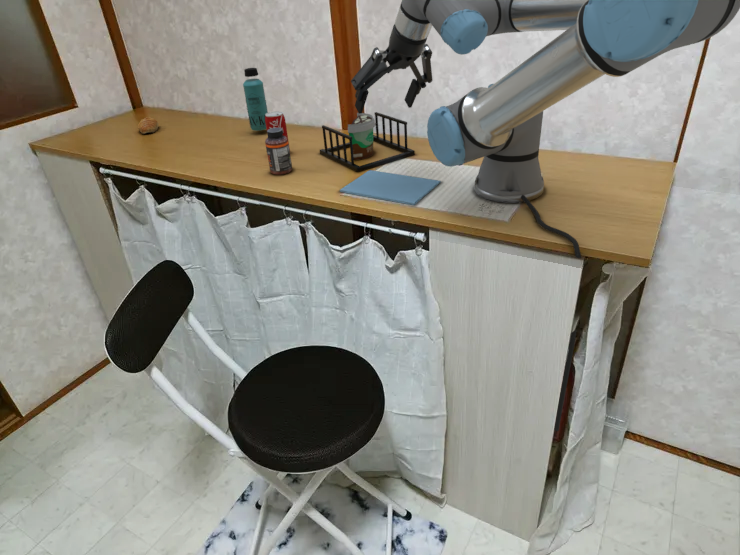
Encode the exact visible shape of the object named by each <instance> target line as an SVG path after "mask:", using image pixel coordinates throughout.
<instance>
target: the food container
mask: <svg viewBox="0 0 740 555" xmlns="http://www.w3.org/2000/svg"><path fill="white" fill-rule="evenodd" d="M356 116H357V117H356V118H354V119H353V120H352V123H351V124H347V133H348V135H349V136H351V137H352V145H353V157H354V161H358V160H365V159H368V158H370V157H372V156H373V155H374V141H373V135H374V128H376V122H375V117H374V116H373V114H370V113H365V112H362V113H361V114H359V113H358V112H356Z"/></svg>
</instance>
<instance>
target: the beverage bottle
mask: <svg viewBox="0 0 740 555" xmlns="http://www.w3.org/2000/svg"><path fill="white" fill-rule="evenodd" d="M258 71H259V70H258V68H257V67H248V68H245V69H244V77H247V78H248V79H246V80H245V81H244V82H243V83H242V87H243V92H244V98H245V104H246V111H247V116H248V122H249V128H250V130H251V131H257V132H258V131H265V130H267V129H266V123H265V114H266V113H269V112H268V105H267V100H266V93H265V88H264V82H263V81H262V79H260V78H252V77H257V76H259V72H258Z"/></svg>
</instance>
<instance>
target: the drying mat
mask: <svg viewBox="0 0 740 555" xmlns="http://www.w3.org/2000/svg"><path fill="white" fill-rule="evenodd" d="M439 184H441V180H437V179H431V178H425V177H419V176H418V177H417V176H412V175H405V174H397V173H392V172H386V171H385V172H384V171H378V170H371V169H368V170H367V171H366V172H364V173H363V174H362V175H359V176H358V177H357V178H355V179H354V180H353V181H351V182H350V183H348V184H346V185H345V186H342V188H340V189H339V192H340V193H345V194H349V195H356V196H362V197H367V198H370V199H371V198H372V199H378V200H382V201H388V202H389V201H390V202H394V203H400V204H405V205H411V206H415V205H416V204H417V203H419V202H420V201H421V200H423V198H424V197H425V196H427V195H428V194H429V193H431V191H432V190H434V189H435V188H437V186H439Z"/></svg>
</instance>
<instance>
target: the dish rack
mask: <svg viewBox="0 0 740 555" xmlns="http://www.w3.org/2000/svg"><path fill="white" fill-rule="evenodd" d="M373 114H374V120H375V124H376V125H375V134H373V142H376V143H378V144H381V145H383V146H386V147H388V148H391V149H393V150H396V151H398V152H401V153H399V154H394V155H392V156H388V157H386V158H382V159H379V160H375V161H372V162H369V163H365V164H362V165H358V164H356V163H355V160H354V157H353V145H352V137H351V136H349V134H346V133H345V132H341V131H339V130H336V129H334V128H332V127H329V126H326V125H324V124H323V125H321V129H322V137H323V144H324V146H323V147H324V148H321V149H319V154H320V155H321V156H324V157H326V158H328V159H330V160H332V161H333V162H336V163H338V164H339V165H342V166H344V167H346V168H348V169H350V170H352V171H354V172H356V173H359V172H362V171H366V170H370V169H373V168H376V167H379V166H382V165H385V164H388V163H392V162H396V161H399V160H402V159H405V158H408V157H412V156H414V155H416V152H415V151H416V150H415V149H412V148H409V147H408V121H405V120H402V119H399V118H396V117H392V116H389V115H387V114H384V113H381V112H378V111H375V112H374V113H373ZM378 117H380V118H381V122H382V124H381V125H382V137H380V135H379V134H380V133H379V118H378ZM385 119H386V120H388V124H389V140H388V139H386V137H387V136H386V121H385ZM393 122H395V123H396V142H397V143H396V142H394V140H393V139H394V138H393ZM400 124H401V125H403V131H404V145H401V137H400V134H401V133H400ZM326 131H328V137H329V146H330V147H328V142H327V135H326V134H327V133H326ZM333 134H335V142H336V144H335V146H334V143H333ZM339 137H341V138H342V144H340V141H339ZM346 139H347V140H348V141H349V142H346ZM347 148H349V152H350V160H348V155H347ZM340 150H343V157H341V151H340ZM335 152H337V153H336V154H335Z"/></svg>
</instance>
